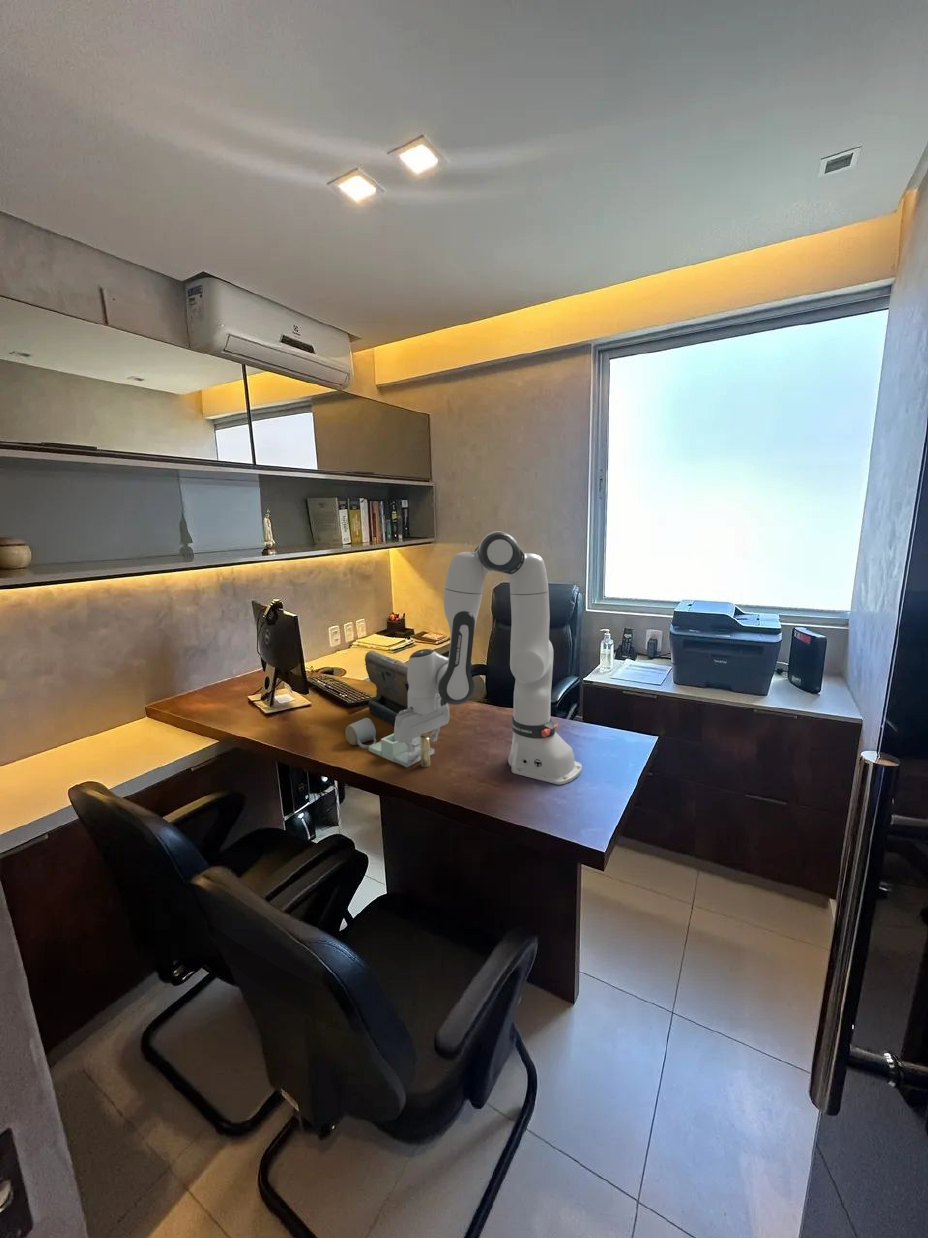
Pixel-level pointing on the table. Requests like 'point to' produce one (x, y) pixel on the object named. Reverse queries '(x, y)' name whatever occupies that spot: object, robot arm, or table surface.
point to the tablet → (387, 686)
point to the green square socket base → (388, 747)
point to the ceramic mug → (361, 732)
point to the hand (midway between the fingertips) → (422, 746)
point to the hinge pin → (425, 751)
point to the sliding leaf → (411, 754)
